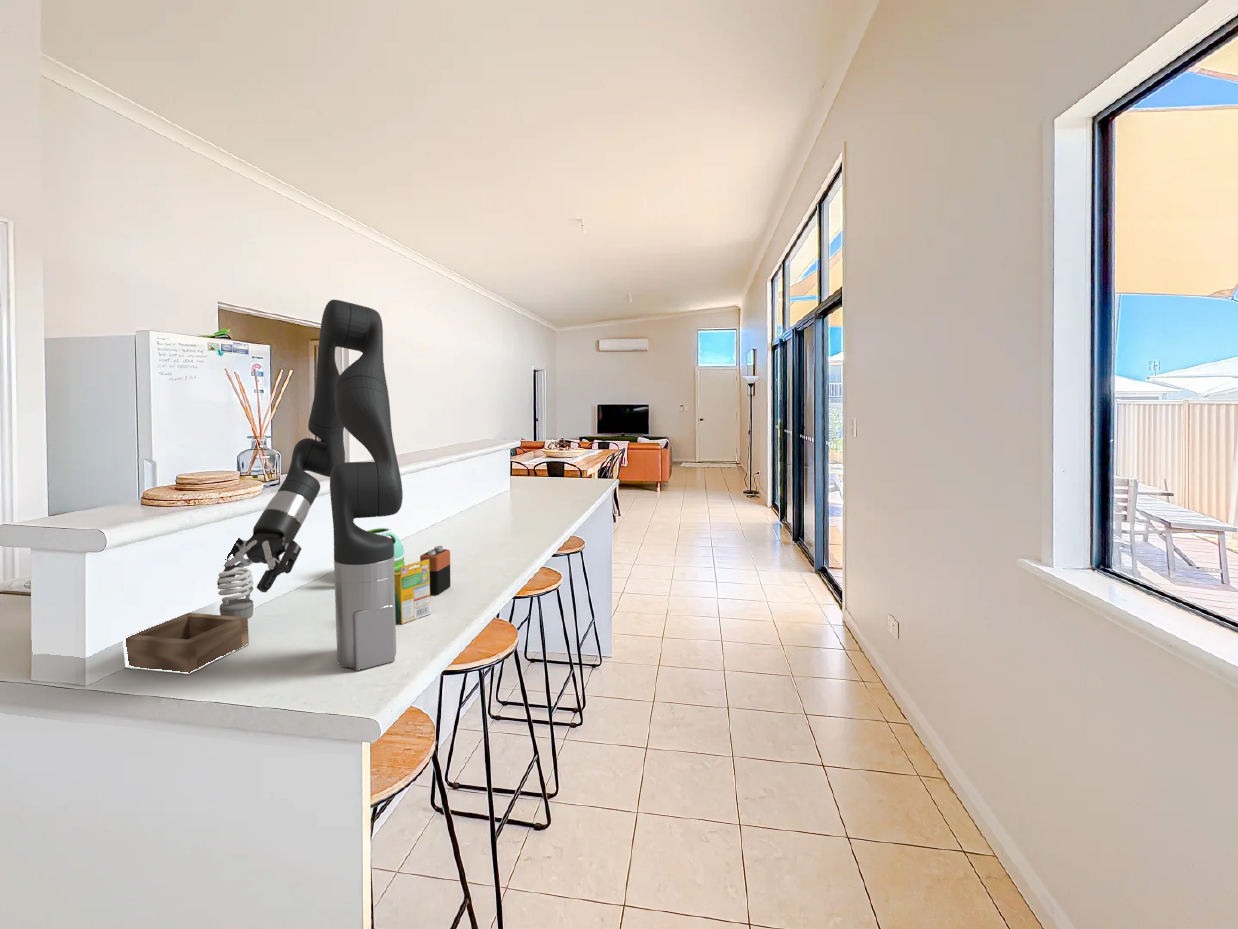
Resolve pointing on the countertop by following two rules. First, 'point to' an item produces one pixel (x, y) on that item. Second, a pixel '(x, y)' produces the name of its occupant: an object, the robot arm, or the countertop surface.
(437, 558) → the battery
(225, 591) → the light bulb
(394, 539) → the turtle holder
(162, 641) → the square brown bulb holder
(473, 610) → the countertop surface
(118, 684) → the countertop surface
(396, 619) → the crayon box
